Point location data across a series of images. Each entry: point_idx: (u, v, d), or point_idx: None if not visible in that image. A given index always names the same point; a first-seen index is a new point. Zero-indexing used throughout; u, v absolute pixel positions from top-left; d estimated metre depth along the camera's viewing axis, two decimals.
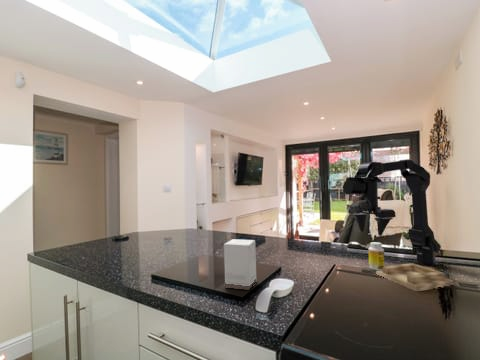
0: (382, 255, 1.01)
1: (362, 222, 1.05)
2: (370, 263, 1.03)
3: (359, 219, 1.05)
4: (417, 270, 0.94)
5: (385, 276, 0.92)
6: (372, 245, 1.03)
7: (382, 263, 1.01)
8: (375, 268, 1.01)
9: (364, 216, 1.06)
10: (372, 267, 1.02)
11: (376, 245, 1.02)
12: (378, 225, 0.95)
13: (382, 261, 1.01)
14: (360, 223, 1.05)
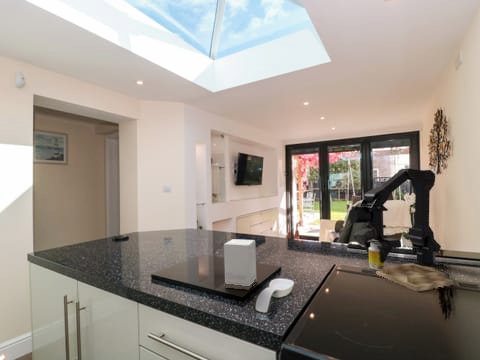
0: None
1: None
2: (370, 263, 1.03)
3: (367, 246, 1.06)
4: (417, 270, 0.94)
5: (385, 276, 0.92)
6: (372, 245, 1.03)
7: (382, 263, 1.01)
8: (375, 268, 1.01)
9: None
10: (372, 267, 1.02)
11: (376, 245, 1.02)
12: (380, 253, 0.99)
13: None
14: None
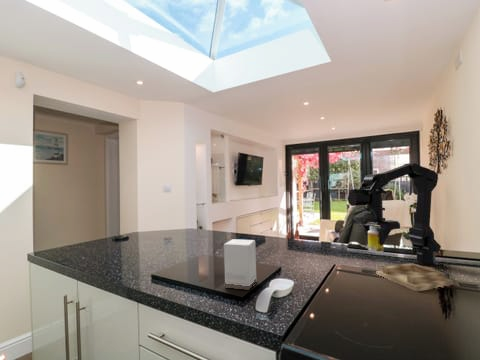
0: None
1: None
2: (369, 246, 1.03)
3: (367, 230, 1.06)
4: (417, 270, 0.94)
5: (385, 276, 0.92)
6: (371, 228, 1.03)
7: (381, 245, 1.01)
8: (374, 251, 1.01)
9: None
10: (371, 250, 1.02)
11: (375, 228, 1.02)
12: (380, 235, 1.00)
13: None
14: None
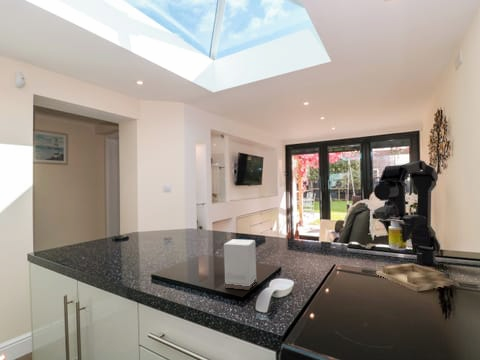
0: None
1: None
2: (390, 243, 0.95)
3: (387, 225, 0.98)
4: (417, 270, 0.94)
5: (385, 276, 0.92)
6: (393, 223, 0.94)
7: (404, 242, 0.92)
8: (396, 248, 0.93)
9: None
10: (393, 247, 0.94)
11: (397, 223, 0.93)
12: (403, 231, 0.91)
13: None
14: None
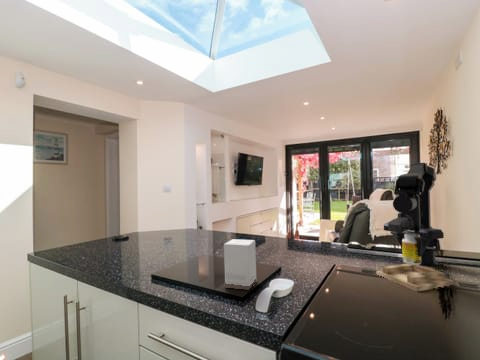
0: None
1: None
2: (405, 257, 0.90)
3: (400, 238, 0.93)
4: (417, 270, 0.94)
5: (385, 276, 0.92)
6: (407, 236, 0.90)
7: (419, 257, 0.88)
8: (411, 263, 0.88)
9: None
10: (407, 261, 0.89)
11: (412, 236, 0.89)
12: (418, 245, 0.87)
13: None
14: None
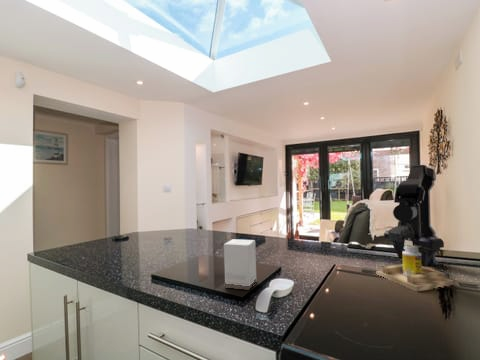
0: (419, 260, 0.88)
1: (400, 249, 0.95)
2: (405, 269, 0.90)
3: (397, 245, 0.95)
4: None
5: (385, 276, 0.92)
6: (407, 249, 0.90)
7: (419, 269, 0.88)
8: None
9: (402, 242, 0.96)
10: (407, 274, 0.89)
11: (412, 249, 0.89)
12: (423, 255, 0.85)
13: (419, 267, 0.88)
14: (398, 250, 0.95)
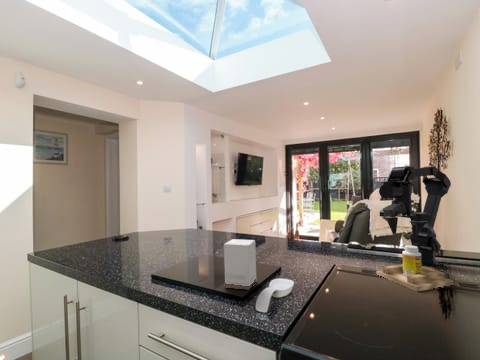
0: (419, 260, 0.88)
1: (394, 225, 1.07)
2: (405, 269, 0.90)
3: (391, 222, 1.07)
4: None
5: (385, 276, 0.92)
6: (407, 249, 0.90)
7: (419, 269, 0.88)
8: None
9: (396, 219, 1.08)
10: (408, 274, 0.89)
11: (412, 249, 0.89)
12: (413, 228, 0.97)
13: (419, 267, 0.88)
14: (392, 226, 1.06)
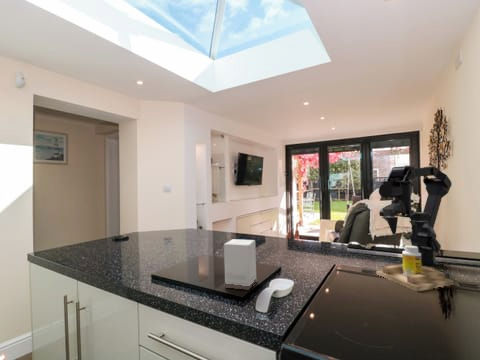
0: (419, 260, 0.88)
1: (394, 225, 1.07)
2: (405, 269, 0.90)
3: (391, 222, 1.07)
4: None
5: (385, 276, 0.92)
6: (407, 249, 0.90)
7: (419, 269, 0.88)
8: None
9: (396, 219, 1.08)
10: (408, 274, 0.89)
11: (412, 249, 0.89)
12: (413, 228, 0.97)
13: (419, 267, 0.88)
14: (392, 226, 1.07)
